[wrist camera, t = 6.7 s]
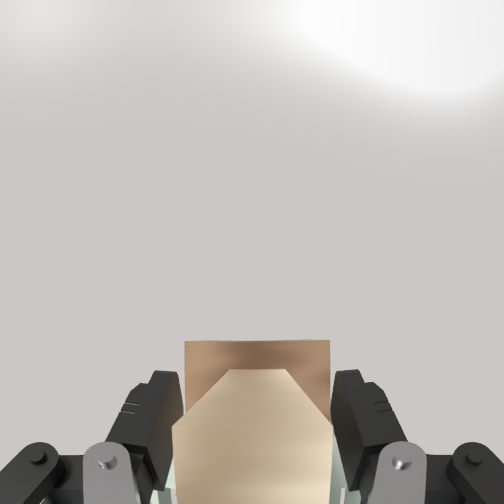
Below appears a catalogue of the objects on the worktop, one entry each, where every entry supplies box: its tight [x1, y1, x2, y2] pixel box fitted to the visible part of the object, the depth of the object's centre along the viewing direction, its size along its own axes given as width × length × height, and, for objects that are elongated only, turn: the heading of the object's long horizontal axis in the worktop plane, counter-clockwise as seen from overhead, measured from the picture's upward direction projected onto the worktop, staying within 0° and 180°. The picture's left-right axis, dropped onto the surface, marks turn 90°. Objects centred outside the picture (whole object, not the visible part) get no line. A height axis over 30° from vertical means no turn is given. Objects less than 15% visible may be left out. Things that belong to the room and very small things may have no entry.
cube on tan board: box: [172, 340, 333, 504], centre depth 15 cm, size 8×20×6 cm, turn 179°
